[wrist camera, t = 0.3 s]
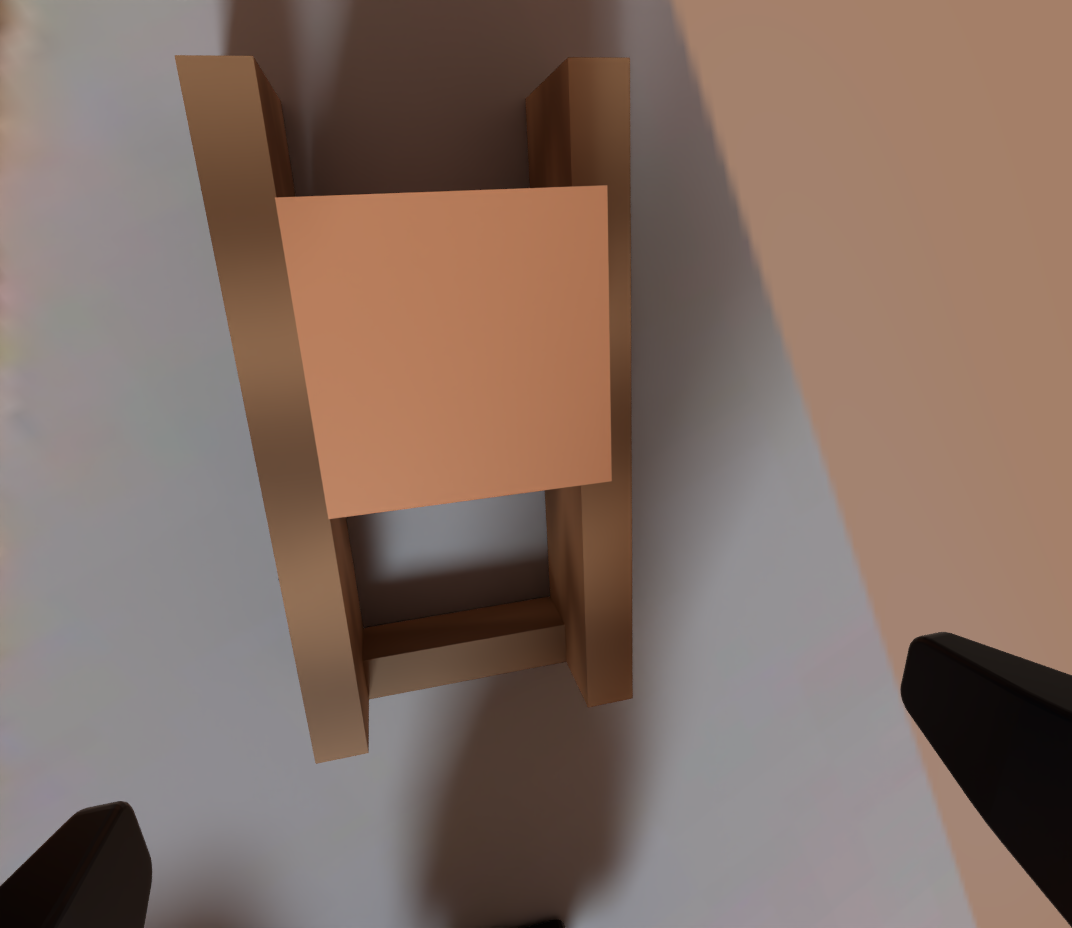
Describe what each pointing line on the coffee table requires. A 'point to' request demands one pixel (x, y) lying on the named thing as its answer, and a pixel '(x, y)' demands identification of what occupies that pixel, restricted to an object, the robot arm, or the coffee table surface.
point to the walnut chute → (289, 443)
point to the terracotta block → (452, 342)
